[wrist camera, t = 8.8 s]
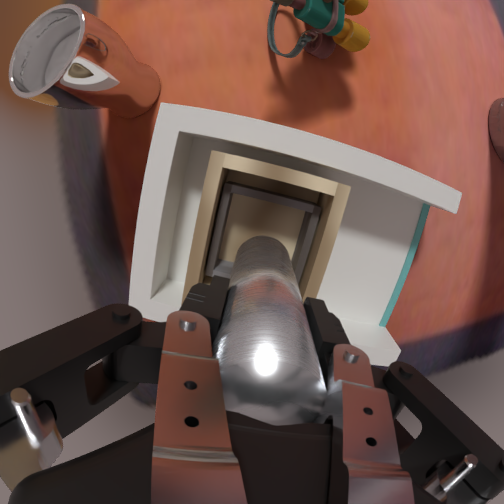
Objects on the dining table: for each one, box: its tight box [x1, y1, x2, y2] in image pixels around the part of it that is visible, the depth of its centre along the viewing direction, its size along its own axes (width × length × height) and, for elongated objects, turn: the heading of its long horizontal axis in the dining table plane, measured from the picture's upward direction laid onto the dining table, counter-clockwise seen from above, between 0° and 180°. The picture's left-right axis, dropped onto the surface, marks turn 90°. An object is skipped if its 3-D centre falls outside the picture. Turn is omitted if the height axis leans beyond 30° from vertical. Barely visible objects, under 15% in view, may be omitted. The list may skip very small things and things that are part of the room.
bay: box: [129, 103, 462, 366], centre depth 26 cm, size 26×18×6 cm
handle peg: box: [212, 235, 328, 426], centre depth 13 cm, size 3×3×12 cm
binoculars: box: [267, 0, 370, 59], centre depth 18 cm, size 9×9×10 cm
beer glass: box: [9, 4, 161, 118], centre depth 18 cm, size 7×7×15 cm
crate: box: [181, 150, 351, 305], centre depth 24 cm, size 10×12×6 cm
